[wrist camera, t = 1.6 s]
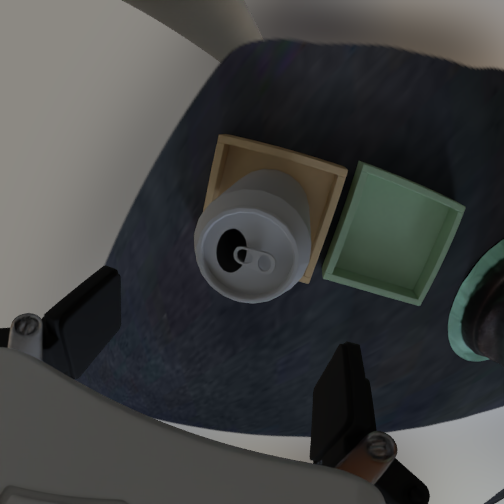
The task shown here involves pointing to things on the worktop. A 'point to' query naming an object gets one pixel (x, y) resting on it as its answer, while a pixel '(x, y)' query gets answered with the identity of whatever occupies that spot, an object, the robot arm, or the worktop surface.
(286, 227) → the can
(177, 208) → the worktop surface
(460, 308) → the black and teal hat
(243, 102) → the worktop surface
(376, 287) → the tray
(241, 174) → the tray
